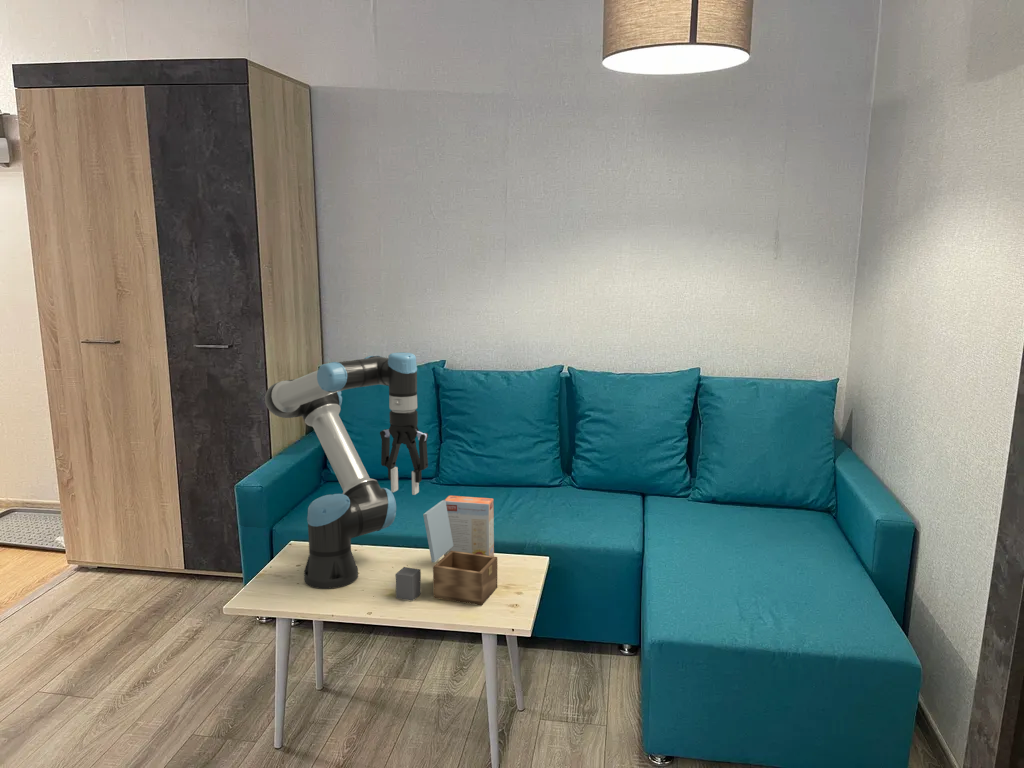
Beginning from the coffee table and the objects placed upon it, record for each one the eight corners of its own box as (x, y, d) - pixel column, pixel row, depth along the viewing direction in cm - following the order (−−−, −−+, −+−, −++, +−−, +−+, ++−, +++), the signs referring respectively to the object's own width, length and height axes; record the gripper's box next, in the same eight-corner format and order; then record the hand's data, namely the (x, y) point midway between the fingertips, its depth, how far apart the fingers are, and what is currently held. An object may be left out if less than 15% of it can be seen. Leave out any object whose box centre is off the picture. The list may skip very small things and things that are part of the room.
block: (396, 598, 216) (395, 573, 215) (404, 590, 221) (403, 566, 219) (412, 601, 214) (412, 576, 213) (420, 593, 219) (420, 569, 218)
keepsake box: (432, 597, 216) (432, 566, 215) (450, 580, 227) (450, 550, 226) (482, 605, 212) (482, 573, 210) (498, 587, 223) (498, 557, 221)
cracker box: (494, 564, 239) (494, 497, 235) (489, 572, 233) (489, 504, 229) (449, 560, 242) (449, 494, 238) (443, 568, 236) (442, 500, 232)
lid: (435, 562, 214) (431, 562, 214) (453, 545, 225) (450, 545, 226) (426, 514, 212) (423, 514, 213) (445, 500, 224) (442, 500, 224)
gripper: (366, 410, 216) (368, 492, 220) (428, 415, 210) (430, 499, 214) (379, 404, 223) (381, 484, 227) (440, 409, 217) (441, 491, 221)
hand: (405, 491), depth 221 cm, fingers open, 6 cm apart
